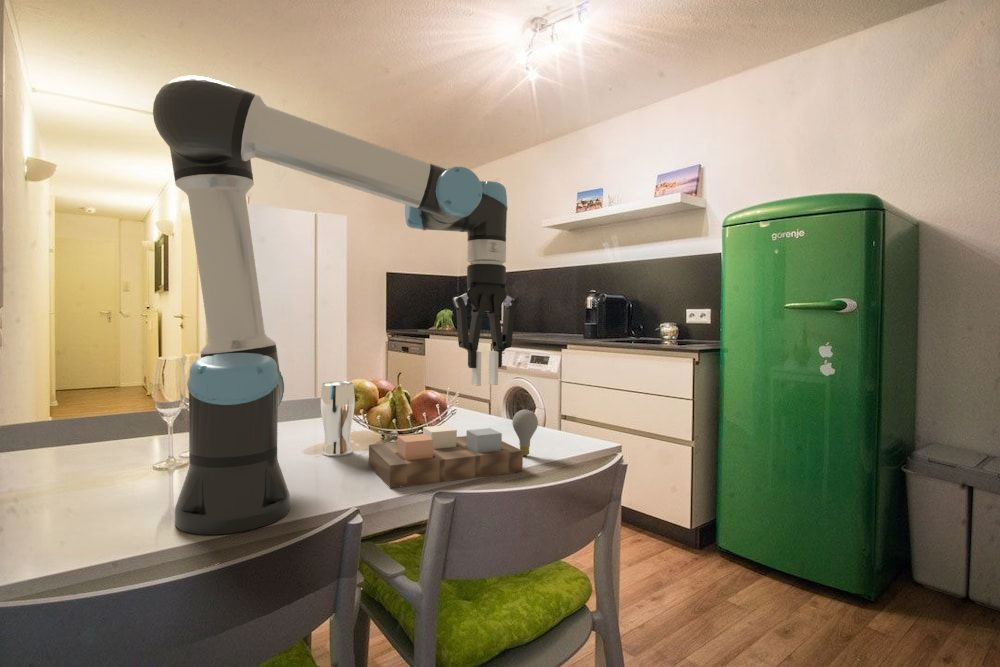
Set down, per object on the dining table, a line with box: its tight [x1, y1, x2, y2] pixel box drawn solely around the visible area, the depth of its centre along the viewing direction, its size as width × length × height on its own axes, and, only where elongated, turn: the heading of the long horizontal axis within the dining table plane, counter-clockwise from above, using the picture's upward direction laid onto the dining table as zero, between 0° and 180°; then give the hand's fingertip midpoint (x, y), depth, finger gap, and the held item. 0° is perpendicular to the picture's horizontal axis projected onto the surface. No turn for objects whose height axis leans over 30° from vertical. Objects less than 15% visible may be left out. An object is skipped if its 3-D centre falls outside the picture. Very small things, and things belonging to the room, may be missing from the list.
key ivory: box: [422, 424, 458, 449], centre depth 109 cm, size 5×5×5 cm
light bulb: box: [511, 409, 539, 457], centre depth 116 cm, size 6×5×10 cm
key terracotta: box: [397, 433, 433, 461], centre depth 100 cm, size 5×5×5 cm
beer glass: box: [320, 381, 356, 457], centre depth 116 cm, size 7×7×15 cm
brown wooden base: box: [368, 435, 524, 489], centre depth 106 cm, size 26×16×4 cm, turn 116°
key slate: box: [466, 427, 503, 453], centre depth 106 cm, size 5×5×5 cm
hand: (484, 384), depth 106 cm, fingers open, 3 cm apart
